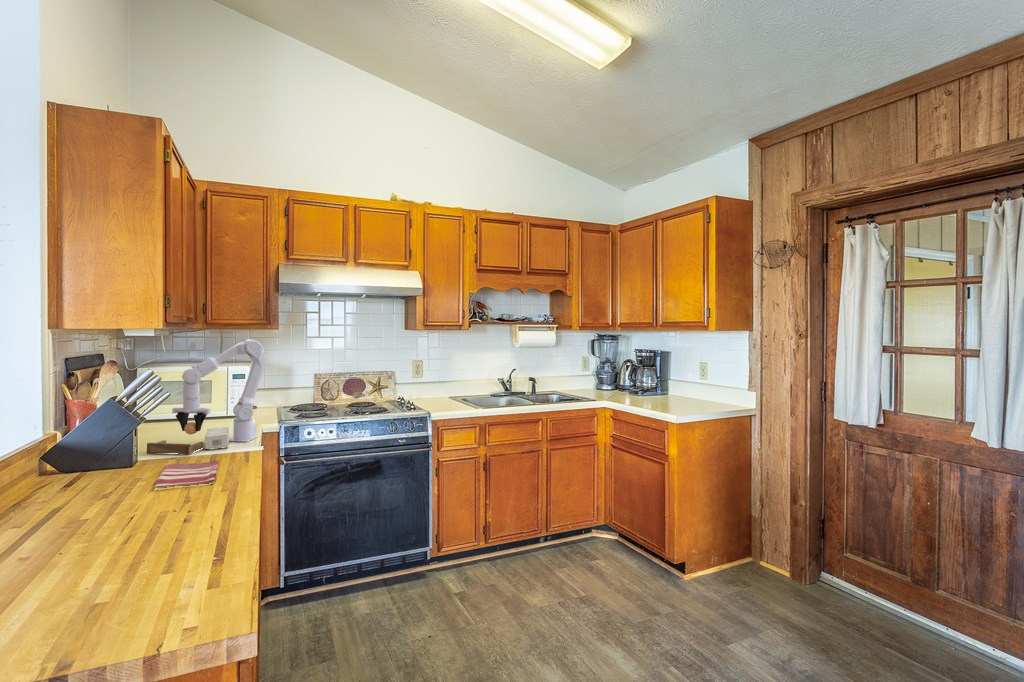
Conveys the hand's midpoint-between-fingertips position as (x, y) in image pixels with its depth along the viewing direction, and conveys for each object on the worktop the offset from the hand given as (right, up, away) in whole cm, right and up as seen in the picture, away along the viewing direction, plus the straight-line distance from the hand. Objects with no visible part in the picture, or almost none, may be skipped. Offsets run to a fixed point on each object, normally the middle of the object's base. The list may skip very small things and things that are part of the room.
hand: (191, 430), depth 207 cm
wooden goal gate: (0, -7, -10) cm, 12 cm away
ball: (0, +1, 0) cm, 1 cm away
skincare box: (+13, -4, -5) cm, 15 cm away
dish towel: (+24, -9, -39) cm, 46 cm away
